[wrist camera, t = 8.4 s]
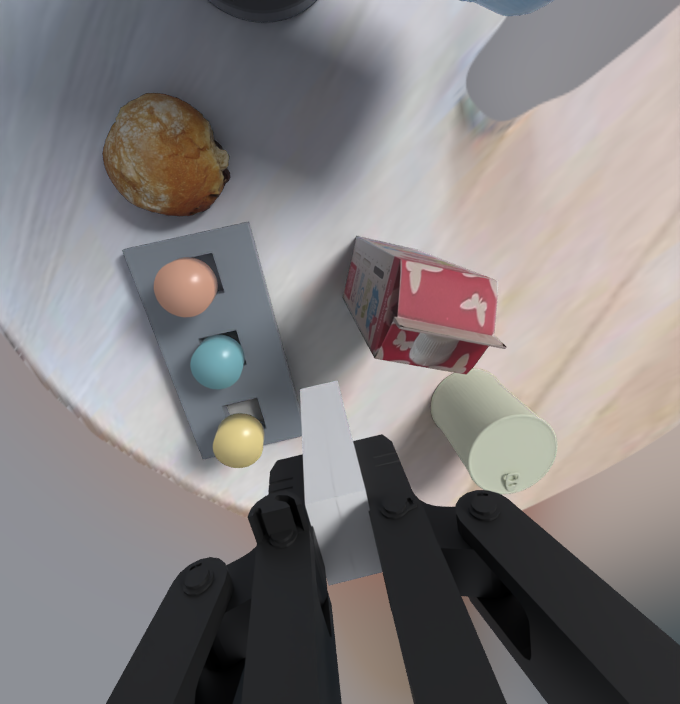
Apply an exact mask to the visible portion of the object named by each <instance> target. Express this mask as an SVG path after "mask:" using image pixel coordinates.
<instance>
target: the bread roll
mask: <svg viewBox="0 0 680 704" xmlns="http://www.w3.org/2000/svg"><path fill="white" fill-rule="evenodd" d="M103 160H104V165H105V169H106V171H107V174H108V176H109V178H110V179H111V181H112V183H113V184H114V186H115V187H116V189H117V190H118V191H119V192H120V193H121V194H122V195H123V196H124V197H125V198H126V199H127V200H128V201H129V202H130V203H132V204H134V205H136V206H137V207H140V208H143V209H146V210H148V211H151V212H156V213H160V214H164V215H168V216H190V215H194V214H196V213H198V212H203V211H205V210H207V209H208V208H210V206H211V205H212V204H213V203H214V201H215V200H216V199H217V197H219V195H220V193H221V192H222V190H223V187H224V186H225V184H226V183H227V182H228V181H229V179H230V172H229V171H228V169H227V167H228V165H229V164H228V161H229V155H228V154H227V151H226V150H223V149H222V146H221V145H220V144H219V143H218V142H216V141H215V140H214V137H213V131H212V129H211V126H210V124H209V121H207V120H206V119H205V118H204V117H203V115H202V114H201V113H200V112H199V111H197V110H196V109H194V108H193V107H192V106H191V105H190V104H188V103H186V102H184V101H182V100H180V99H179V98H175V97H173V96H170V95H166V94H160V93H146V94H144V95H142V96H140V97H139V98H137V99H135V100H132V101H130V102H128V103H127V104H126V105H124V106H123V107H121V109H120V111H119V113H118V116H117V117H116V122H115V123H114V124H113V125H112V127H111V130H110V132H109V134H108V136H107V138H106V141H105V145H104V148H103Z"/></svg>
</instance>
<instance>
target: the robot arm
mask: <svg viewBox="0 0 680 704" xmlns="http://www.w3.org/2000/svg"><path fill="white" fill-rule="evenodd" d="M208 1H209V2H210V3H212V4H213V5H215V6H216V7H217V8H219V9H221V10H222V11H224V12H226V13H228V14H230V15H232V16H235V17H237V18H240V19H244V20H248V21H253V22H275V21H280V20H284V19H287V18H290V17H293V16H295V15H297V14H299V13H301V12H302V11H304V10H305V9H307V8H308V7H309V6H311V5H312V4H313V3H314V2H315V1H316V0H208ZM460 1H467V2H475V3H477V4H479V5H481V6H483V7H485V8H487V9H489V10H491V11H494V12H496V13H498V14H500V15H503V16H514V15H519V16H520V15H523V14H529V13H532V12H534V11H536V10H538V9H540V8H542V7H543V6H546V5H547V4H549V3H550V2H552V1H553V0H460ZM300 402H301V425H302V448H303V454H302V455H298V456H294V457H290V458H286V459H281V460H277V462H276V463H275V465H274V466H273V468H272V470H271V471H270V479H269V484H270V485H269V494H268V495H267V496H265V497H264V498H262V499H261V500H259V501H258V502H257V503H256V504H255V505H254V506H253V507H252V508H251V510H250V512H249V515H248V520H249V522H250V525H251V528H252V531H253V533H254V536H255V539H256V542H257V546H256V547H255V548H254V549H253V550H252V551H251V552H249V553H248V554H246V555H245V556H243V557H241V558H240V559H238V560H236V561H234V562H232V563H230V564H228V565H226V564H225V563H224V562H223V561H222V560H220V559H219V558H212V557H209V558H205V559H200V560H198V561H196V562H194V563H192V564H190V565H189V566H188V567H186V568H185V569H184V570H183V571H182V572H180V573H179V575H178V576H177V577H176V579H175V580H174V581H173V583H172V585H171V587H170V588H169V590H168V592H167V594H166V596H165V598H164V600H163V601H162V603H161V605H160V607H159V608H158V610H157V612H156V614H155V616H154V618H153V619H152V621H151V623H150V625H149V627H148V628H147V630H146V632H145V634H144V636H143V637H142V639H141V641H140V643H139V645H138V646H137V648H136V650H135V652H134V654H133V656H132V657H131V659H130V661H129V663H128V665H127V666H126V668H125V670H124V672H123V674H122V675H121V677H120V679H119V681H118V683H117V684H116V686H115V688H114V690H113V692H112V694H111V696H110V697H109V699H108V701H107V703H106V704H342V703H341V693H340V684H339V673H338V664H337V654H336V644H335V634H334V624H333V614H332V605H331V601H330V598H329V594H328V591H327V581H328V584H329V585H333V584H337V583H340V582H345V581H349V580H352V579H357V578H361V577H364V576H369V575H373V574H377V573H381V572H383V576H384V580H385V585H386V589H387V594H388V598H389V603H390V607H391V611H392V614H393V618H394V623H395V627H396V631H397V635H398V639H399V643H400V648H401V652H402V656H403V660H404V664H405V668H406V672H407V676H408V681H409V685H410V689H411V693H412V697H413V702H414V704H507V703H506V701H505V698H504V696H503V694H502V691H501V689H500V687H499V684H498V682H497V680H496V677H495V675H494V672H493V670H492V668H491V665H490V663H489V661H488V658H487V656H486V654H485V651H484V649H483V646H482V644H481V642H480V639H479V637H478V635H477V632H476V630H475V628H474V625H473V623H472V621H471V618H470V616H469V614H468V611H467V609H466V606H465V604H464V602H463V599H462V597H461V596H468V597H469V599H470V601H471V602H472V604H473V605H474V606H475V608H476V609H477V610H478V612H479V613H480V614H481V616H482V617H483V618H484V620H485V621H486V622H487V624H488V625H489V626H490V628H491V629H492V630H493V632H494V633H495V634H496V635H497V637H498V638H499V640H500V641H501V642H502V643H503V645H504V646H505V647H506V649H507V650H508V652H509V653H510V654H511V655H512V657H513V658H514V659H515V661H516V662H517V663H518V665H519V666H520V667H521V669H522V670H523V671H524V672H525V674H526V675H527V676H528V678H529V679H530V681H531V682H532V683H533V685H534V686H535V687H536V689H537V690H538V691H539V692H540V694H541V695H542V697H543V698H544V699H545V700H546V702H547V703H548V704H680V645H679V644H677V643H676V642H675V641H674V640H673V639H672V638H670V637H669V636H668V635H667V634H666V633H665V632H663V631H662V630H661V629H660V628H659V627H658V626H656V625H655V624H654V623H653V622H652V621H650V620H649V619H648V618H647V617H646V616H645V615H644V614H642V613H641V612H640V611H639V610H638V609H636V608H635V607H634V606H633V605H632V604H630V603H629V602H628V601H627V600H626V599H625V598H624V597H622V596H621V595H620V594H619V593H618V592H616V591H615V590H614V589H613V588H612V587H611V586H609V585H608V584H607V583H606V582H605V581H604V580H602V579H601V578H600V577H599V576H598V575H597V574H595V573H594V572H593V571H592V570H591V569H589V568H588V567H587V566H586V565H585V564H584V563H583V562H581V561H580V560H579V559H578V558H577V557H575V556H574V555H573V554H572V553H571V552H570V551H568V550H567V549H566V548H565V547H563V546H562V545H561V544H560V543H559V542H558V541H557V540H555V539H554V538H553V537H552V536H551V535H550V534H548V533H547V532H546V531H545V530H544V529H543V528H541V527H540V526H539V525H538V524H537V523H536V522H534V521H533V520H532V519H531V518H530V517H528V516H527V515H526V514H525V513H524V512H523V511H522V510H520V509H519V508H518V507H517V506H516V505H515V504H513V503H512V502H511V501H510V500H509V499H507V498H506V497H504V496H502V495H501V494H499V493H496V492H493V491H489V490H476V491H472V492H469V493H466V494H465V495H463V496H462V497H460V498H459V500H458V502H457V503H456V507H441V506H433V505H430V504H426V503H424V502H423V501H421V500H419V499H418V498H417V496H415V495H414V493H413V491H412V489H411V487H410V484H409V482H408V479H407V477H406V475H405V472H404V470H403V467H402V465H401V463H400V461H399V458H398V455H397V453H396V451H395V448H394V446H393V443H392V441H390V440H389V439H388V438H386V437H385V436H384V435H377V436H373V437H369V438H365V439H361V440H356V441H353V439H352V435H351V431H350V428H349V424H348V420H347V416H346V412H345V408H344V404H343V400H342V396H341V392H340V388H339V384H338V381H333V382H329V383H324V384H320V385H316V386H312V387H307V388H303V389H300ZM326 578H327V581H326Z"/></svg>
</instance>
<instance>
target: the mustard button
mask: <svg viewBox="0 0 680 704" xmlns="http://www.w3.org/2000/svg"><path fill="white" fill-rule="evenodd" d="M263 442H264V429H263V426H262V424H261V423H260V422H259V421H258V420H257V419H256V418H255V417H253V416H251V415H248V414H242V413H238V414H233V415H230V416H228V417H226V418H225V419H224V420H223V421H222V422H221V423H220V425H219V427H218V429H217V432H216V436H215V439H214V442H213V452H214V454H215V456H216V458H217V459H218V460H219V461H220V462H221V463H223V464H224V465H226V466H229V467H233V468H243V467H247V466H250V465H252V464H254V463H255V462H256V461H257V460H258V459H259V458H260V456H261V454H262V450H263Z"/></svg>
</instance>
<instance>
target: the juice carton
mask: <svg viewBox="0 0 680 704" xmlns="http://www.w3.org/2000/svg"><path fill="white" fill-rule="evenodd" d="M497 298H498V281H497V280H494V279H491V278H489V277H486V276H484V275H481V274H479V273H476V272H473V271H471V270H468V269H466V268H463V267H461V266H458V265H455V264H453V263H450V262H448V261H445V260H442V259H440V258H437V257H435V256H432V255H430V254H427V253H424V252H422V251H419V250H416V249H412V248H408V247H403V246H399V245H395V244H390V243H386V242H381V241H377V240H373V239H368V238H364V237H359V236H357V237H356V241H355V246H354V250H353V254H352V259H351V263H350V268H349V272H348V276H347V281H346V285H345V289H344V294H343V299H344V301H345V303H346V305H347V307H348V309H349V311H350V313H351V315H352V316H353V318H354V320H355V322H356V324H357V326H358V328H359V330H360V332H361V334H362V335H363V337H364V339H365V341H366V343H367V345H368V347H369V349H370V351H371V352H372V354H373V356H374V358H375V359H380V360H386V361H392V362H397V363H403V364H409V365H414V366H420V367H426V368H432V369H437V370H443V371H449V372H454V373H460V374H466V375H467V374H468V373H469V371H470V370H471V369H472V368H473V367H474V366H475V364H476V363H477V362H478V360H479V359H480V358H481V356H482V355H483V354H484V352H485V351H486V349H487V348H488V347H489V346H492V347H497V348H503V349H505V348H506V346H505V345H504V344H503V343H502V342H501V341H500V340H499V339H497V338H496V337H495V336H494V332H495V321H496V310H497Z"/></svg>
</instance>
